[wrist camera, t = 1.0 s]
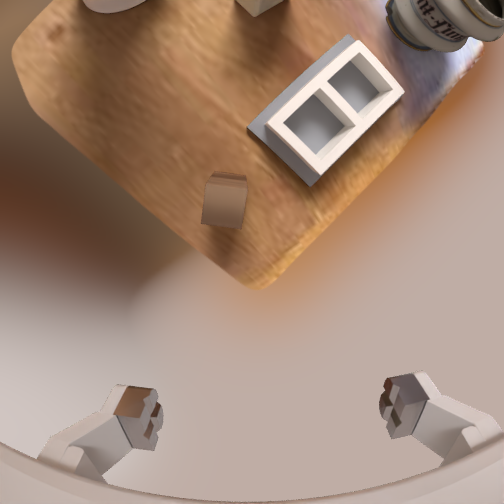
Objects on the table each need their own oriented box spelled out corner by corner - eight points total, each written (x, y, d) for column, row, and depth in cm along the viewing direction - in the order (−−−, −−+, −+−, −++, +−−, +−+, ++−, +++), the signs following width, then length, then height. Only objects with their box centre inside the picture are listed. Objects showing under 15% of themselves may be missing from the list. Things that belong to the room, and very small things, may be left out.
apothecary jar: (372, -18, 26) (433, -72, 10) (437, 1, 27) (508, -29, 10) (383, 49, 31) (462, 15, 14) (448, 65, 31) (532, 54, 14)
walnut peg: (214, 171, 37) (205, 183, 28) (245, 175, 38) (247, 189, 28) (210, 201, 39) (201, 223, 29) (241, 205, 39) (241, 229, 30)
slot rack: (308, 185, 38) (318, 193, 34) (246, 127, 35) (247, 125, 31) (400, 95, 34) (418, 92, 29) (345, 35, 30) (359, 24, 26)
